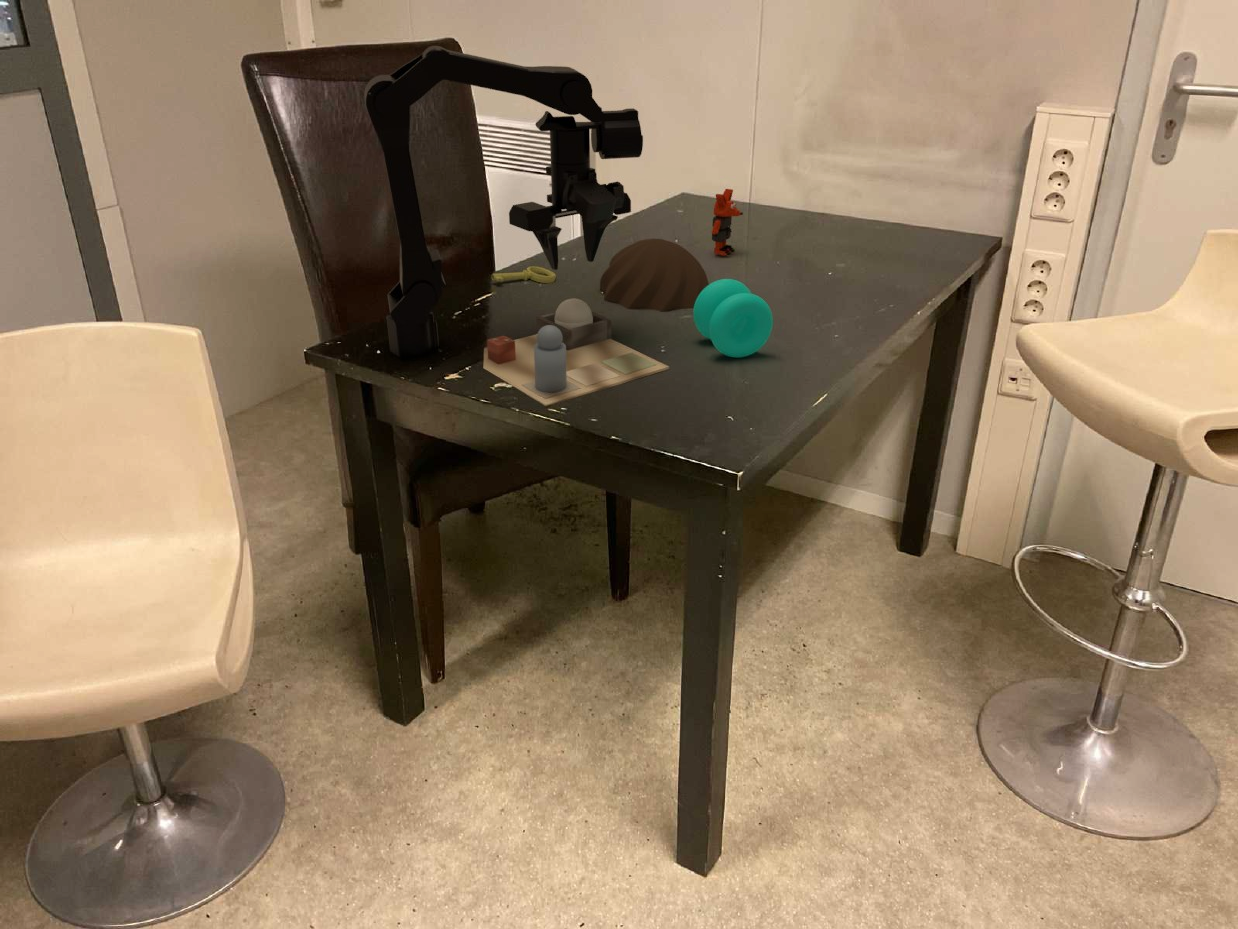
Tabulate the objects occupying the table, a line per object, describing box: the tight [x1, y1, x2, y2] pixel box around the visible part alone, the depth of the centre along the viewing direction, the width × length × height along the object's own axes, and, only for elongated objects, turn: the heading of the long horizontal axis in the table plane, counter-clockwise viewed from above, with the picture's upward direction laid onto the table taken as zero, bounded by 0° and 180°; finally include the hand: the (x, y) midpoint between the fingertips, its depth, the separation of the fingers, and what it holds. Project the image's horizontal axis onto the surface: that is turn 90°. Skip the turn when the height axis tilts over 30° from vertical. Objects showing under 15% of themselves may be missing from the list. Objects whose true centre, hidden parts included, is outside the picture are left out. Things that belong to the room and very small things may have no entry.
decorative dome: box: [599, 238, 710, 313], centre depth 177 cm, size 19×20×10 cm
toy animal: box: [711, 188, 744, 256], centre depth 198 cm, size 8×6×12 cm
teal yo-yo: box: [692, 278, 774, 358], centre depth 153 cm, size 10×10×10 cm
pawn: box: [534, 325, 567, 393], centre depth 139 cm, size 4×4×9 cm
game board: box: [483, 310, 670, 407], centre depth 150 cm, size 22×23×4 cm
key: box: [491, 266, 557, 284], centre depth 183 cm, size 7×12×2 cm, turn 138°
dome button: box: [555, 298, 593, 329], centre depth 157 cm, size 6×6×6 cm
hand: (572, 265), depth 153 cm, fingers open, 6 cm apart
